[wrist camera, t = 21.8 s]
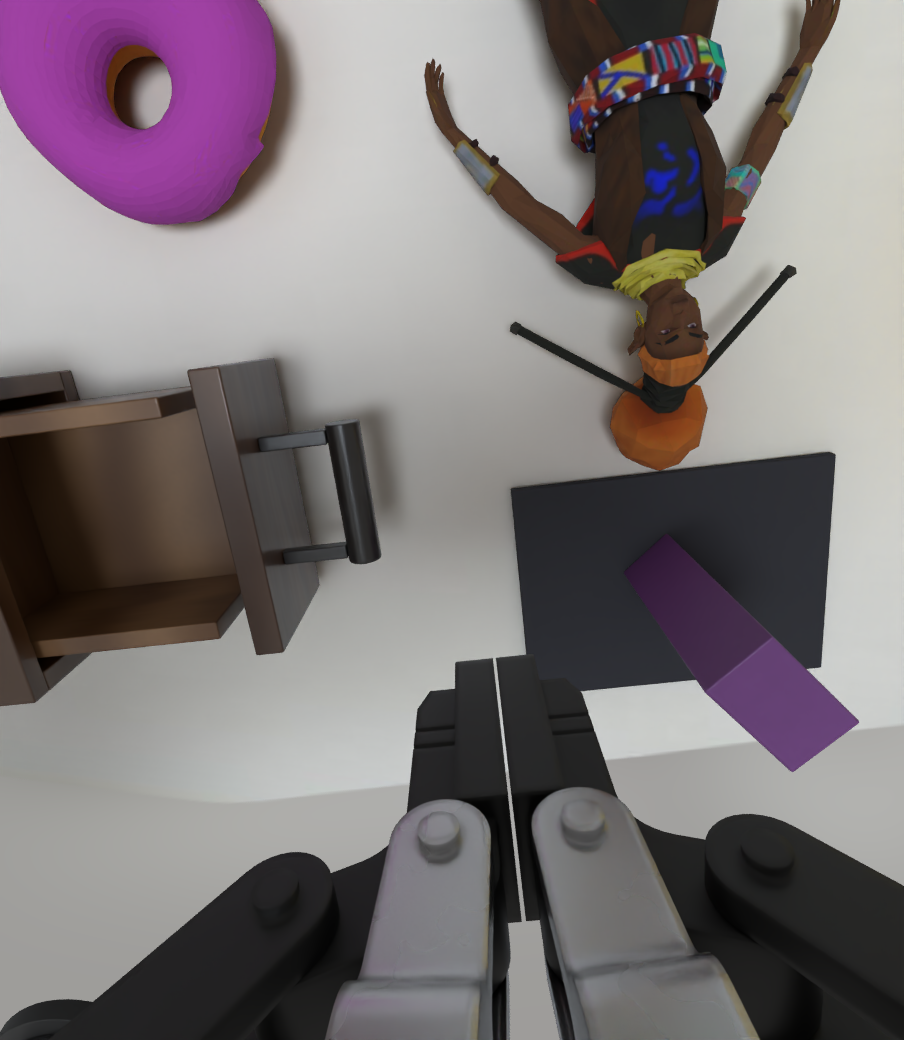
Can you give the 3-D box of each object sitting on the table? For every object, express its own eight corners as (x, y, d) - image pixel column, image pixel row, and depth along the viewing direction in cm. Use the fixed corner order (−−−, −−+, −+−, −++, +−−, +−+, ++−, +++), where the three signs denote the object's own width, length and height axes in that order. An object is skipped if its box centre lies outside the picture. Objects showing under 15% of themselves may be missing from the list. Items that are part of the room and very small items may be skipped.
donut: (2, 111, 26) (-89, 67, 22) (123, -120, 24) (48, -222, 19) (204, 276, 28) (158, 266, 24) (335, 77, 26) (310, 25, 21)
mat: (816, 662, 34) (821, 667, 33) (529, 691, 34) (530, 696, 34) (830, 451, 30) (836, 454, 30) (510, 488, 31) (511, 490, 30)
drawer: (363, 346, 28) (334, 351, 21) (399, 577, 31) (384, 642, 25) (-7, 392, 29) (-144, 411, 22) (68, 613, 32) (-31, 685, 26)
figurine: (865, -614, 17) (936, 442, 22) (740, -282, 25) (811, 436, 30) (329, -454, 18) (504, 520, 23) (374, -185, 26) (497, 494, 31)
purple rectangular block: (728, 594, 32) (860, 722, 22) (685, 631, 33) (792, 773, 22) (666, 532, 31) (772, 636, 21) (622, 572, 32) (704, 692, 21)
